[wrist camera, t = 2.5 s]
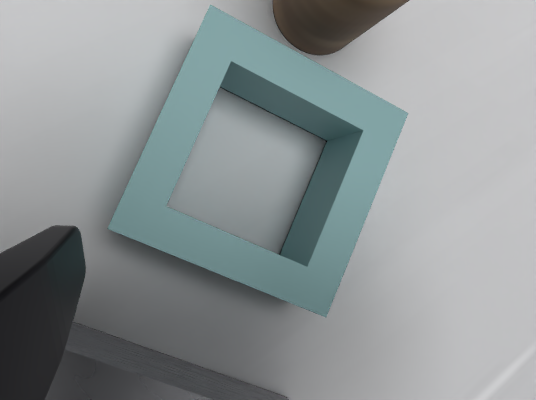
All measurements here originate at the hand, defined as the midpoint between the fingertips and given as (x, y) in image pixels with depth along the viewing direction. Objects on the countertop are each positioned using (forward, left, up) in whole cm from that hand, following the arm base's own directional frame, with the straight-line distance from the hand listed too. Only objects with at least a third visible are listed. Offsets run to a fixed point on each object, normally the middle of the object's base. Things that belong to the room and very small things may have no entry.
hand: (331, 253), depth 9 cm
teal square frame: (+1, -2, -12) cm, 12 cm away
